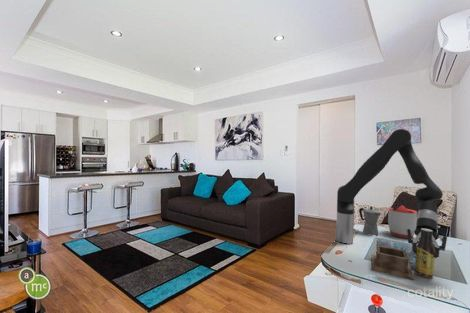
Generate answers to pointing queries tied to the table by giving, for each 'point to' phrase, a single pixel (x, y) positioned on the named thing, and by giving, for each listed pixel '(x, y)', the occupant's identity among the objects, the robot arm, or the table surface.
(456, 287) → the table surface
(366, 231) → the coffeepot
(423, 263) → the sauce bottle
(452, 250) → the table surface
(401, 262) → the bottle stand
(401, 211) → the citrus juicer
